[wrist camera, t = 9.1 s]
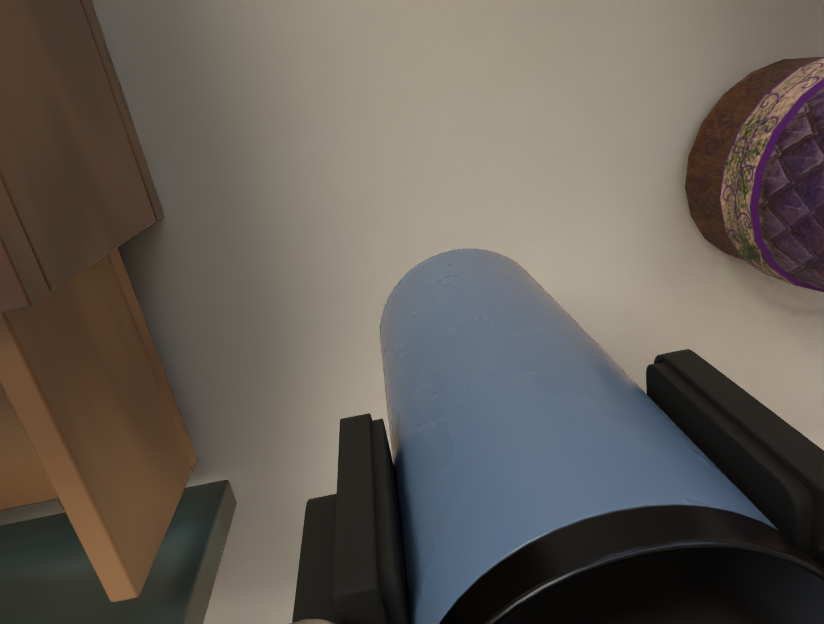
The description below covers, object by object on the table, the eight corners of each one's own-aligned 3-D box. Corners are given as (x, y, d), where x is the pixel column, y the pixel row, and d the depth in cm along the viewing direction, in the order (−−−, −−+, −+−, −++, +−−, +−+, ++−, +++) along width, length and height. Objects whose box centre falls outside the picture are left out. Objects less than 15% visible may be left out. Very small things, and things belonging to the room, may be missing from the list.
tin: (361, 265, 15) (377, 608, 5) (540, 230, 15) (904, 497, 5) (395, 420, 17) (455, 904, 7) (555, 388, 17) (847, 816, 7)
